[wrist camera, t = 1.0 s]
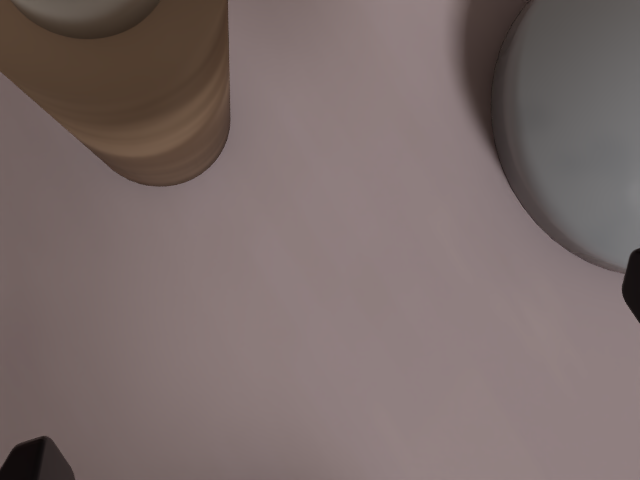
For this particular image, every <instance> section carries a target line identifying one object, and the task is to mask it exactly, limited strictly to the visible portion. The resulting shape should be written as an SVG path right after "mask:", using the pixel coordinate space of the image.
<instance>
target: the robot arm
mask: <svg viewBox="0 0 640 480" xmlns="http://www.w3.org/2000/svg"><path fill="white" fill-rule="evenodd" d="M622 294H623V298H624V300H625V302H626V304H627V305H628V307H629V308H630V310H631V311H632V313H633V314H634V316H635V317H636V319H637V320H638V322H639V323H640V248H638V249H635V250H634V251H633V252H632V253H631V254H630V256H629V260H628V264H627V268H626V272H625V276H624V280H623V284H622ZM0 480H75V477H74V474H73V471H72V469H71V467H70V465H69V464H68V462H67V461H66V459H65V458H64V456H63V455H62V454H61V452H60V451H59V449H58V448H57V446H56V445H55V443H54V442H53V441H52V439H51V438H49V437H47V436H41V437H38V438H35V439H31V440H28V441H25V442H22V443H19V444H18V445H16V446H15V447H14V448H13V449H12V451H11V452H10V454H9V455H8V457H7V459H6V460H5V462H4V464H3V465H2V467H1V469H0Z"/></svg>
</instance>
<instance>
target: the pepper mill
mask: <svg viewBox="0 0 640 480" xmlns="http://www.w3.org/2000/svg"><path fill="white" fill-rule="evenodd" d="M0 72H2V73H3V74H4V75H5V76H6V77H7V78H8V79H10V80H11V81H12V82H13V83H14V84H15V85H16V86H18V87H19V88H20V89H21V90H22V91H23V92H24V93H26V94H27V95H28V96H29V97H30V98H31V99H32V100H34V101H35V102H36V103H37V104H38V105H39V106H40V107H42V108H43V109H44V110H45V111H46V112H47V113H48V114H50V115H51V116H52V117H53V118H54V119H55V120H56V121H58V122H59V123H60V124H61V125H62V126H63V127H64V128H66V129H67V130H68V131H69V132H70V133H71V134H72V135H74V136H75V137H76V138H77V139H78V140H79V141H80V142H82V143H83V144H84V145H85V146H86V147H87V148H88V149H90V150H91V151H92V152H93V153H94V154H95V155H96V156H98V157H99V158H100V159H101V160H102V161H103V162H104V163H106V164H107V165H108V166H109V167H110V168H111V169H112V170H114V171H115V172H116V173H118V174H119V175H121V176H123V177H125V178H126V179H128V180H131V181H133V182H136V183H139V184H143V185H148V186H171V185H177V184H180V183H184V182H187V181H189V180H191V179H193V178H195V177H197V176H198V175H200V174H202V173H203V172H204V171H205V170H207V169H208V168H209V167H210V166H211V165H212V164H213V163H214V162H215V161H216V159H217V158H218V156H219V155H220V154H221V152H222V150H223V148H224V146H225V143H226V141H227V138H228V134H229V130H230V81H229V33H228V0H0Z"/></svg>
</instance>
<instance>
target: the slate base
mask: <svg viewBox="0 0 640 480" xmlns="http://www.w3.org/2000/svg"><path fill="white" fill-rule="evenodd" d="M491 114H492V128H493V133H494V138H495V144H496V149H497V152H498V155H499V158H500V161H501V164H502V167H503V170H504V172H505V174H506V177H507V179H508V181H509V183H510V185H511V187H512V189H513V191H514V193H515V194H516V196H517V198H518V199H519V201H520V202H521V204H522V206H523V207H524V209H525V210H526V211H527V212H528V214H529V215H530V216H531V217H532V218H533V220H534V221H535V222H536V223H537V225H538V226H539V227H540V228H541V229H543V230H544V231H545V232H546V233H547V234H548V235H549V236H550V237H551V238H552V239H553V240H554V241H556V242H557V243H558V244H560V245H561V246H562V247H564V248H565V249H566V250H568V251H569V252H571V253H572V254H574V255H576V256H578V257H580V258H581V259H583V260H585V261H587V262H589V263H591V264H594V265H596V266H599V267H602V268H604V269H607V270H610V271H615V272H619V273H623V274H625V272H626V268H627V264H628V260H629V256H630V254H631V253H632V252H633V251H634V250H635V249H638V248H640V0H530V1H529V2H528V3H527V5H526V6H525V7H524V8H523V9H522V11H521V12H520V14H519V15H518V17H517V18H516V20H515V21H514V23H513V24H512V26H511V28H510V30H509V32H508V34H507V36H506V38H505V40H504V42H503V44H502V47H501V50H500V53H499V56H498V59H497V62H496V67H495V72H494V77H493V83H492V96H491Z"/></svg>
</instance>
